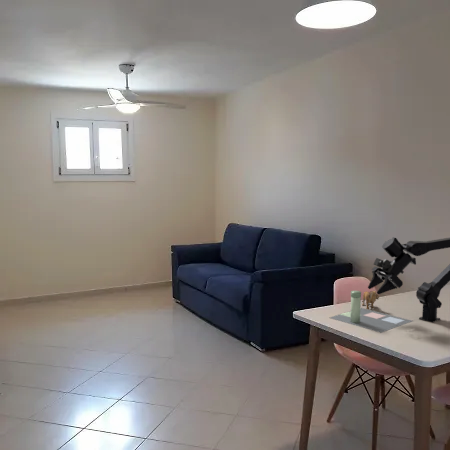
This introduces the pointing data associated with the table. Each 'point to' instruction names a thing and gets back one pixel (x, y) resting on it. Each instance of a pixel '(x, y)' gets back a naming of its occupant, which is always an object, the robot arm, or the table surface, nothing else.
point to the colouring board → (373, 320)
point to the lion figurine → (370, 298)
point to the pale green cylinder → (355, 306)
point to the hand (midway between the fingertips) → (372, 290)
